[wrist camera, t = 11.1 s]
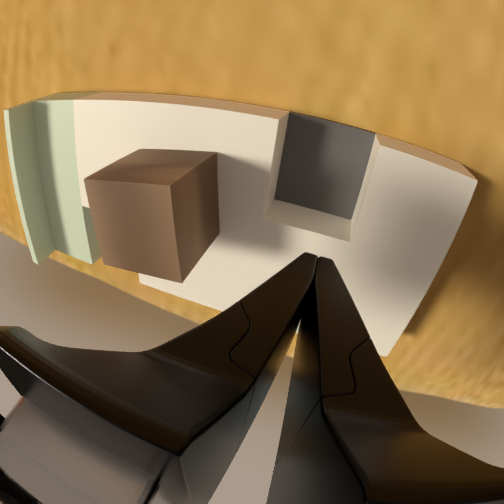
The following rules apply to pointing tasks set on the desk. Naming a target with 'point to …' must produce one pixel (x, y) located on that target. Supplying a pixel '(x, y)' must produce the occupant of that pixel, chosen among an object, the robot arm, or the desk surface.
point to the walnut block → (156, 210)
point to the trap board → (251, 194)
